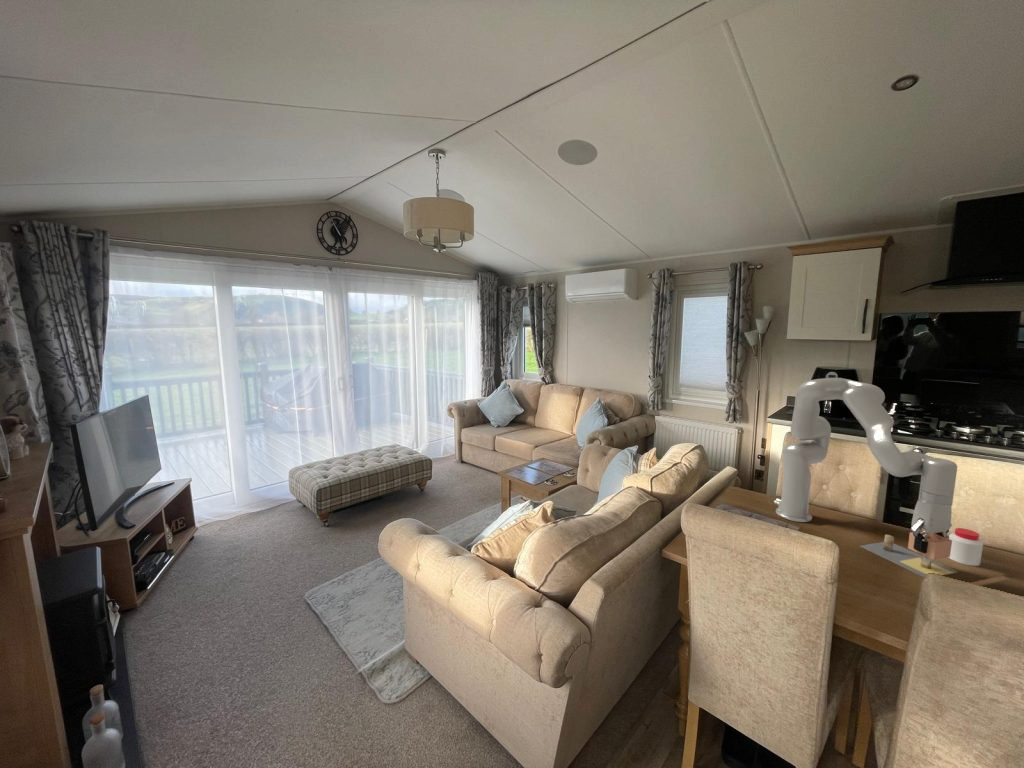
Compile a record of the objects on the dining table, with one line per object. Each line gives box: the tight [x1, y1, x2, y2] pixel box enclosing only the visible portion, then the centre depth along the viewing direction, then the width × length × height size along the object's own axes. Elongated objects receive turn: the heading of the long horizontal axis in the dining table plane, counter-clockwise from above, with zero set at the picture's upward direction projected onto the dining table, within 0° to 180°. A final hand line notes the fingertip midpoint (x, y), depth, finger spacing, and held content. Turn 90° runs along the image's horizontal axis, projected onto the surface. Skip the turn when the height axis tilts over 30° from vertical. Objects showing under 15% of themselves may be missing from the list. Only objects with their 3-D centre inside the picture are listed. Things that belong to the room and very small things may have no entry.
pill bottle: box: [948, 527, 984, 567], centre depth 138 cm, size 8×8×11 cm
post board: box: [859, 534, 958, 578], centre depth 139 cm, size 20×14×6 cm
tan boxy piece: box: [907, 529, 952, 561], centre depth 133 cm, size 7×7×6 cm
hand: (928, 549), depth 133 cm, fingers closed on tan boxy piece, 7 cm apart
